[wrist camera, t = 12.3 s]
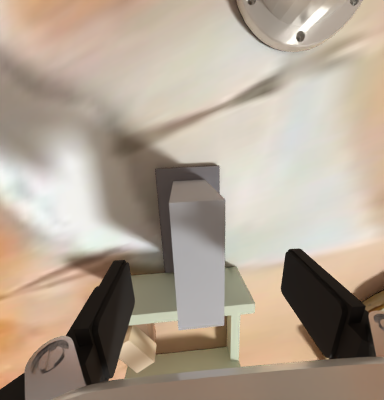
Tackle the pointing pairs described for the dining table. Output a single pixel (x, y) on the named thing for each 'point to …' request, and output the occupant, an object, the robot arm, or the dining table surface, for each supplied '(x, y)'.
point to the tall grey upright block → (198, 253)
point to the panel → (164, 191)
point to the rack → (167, 311)
